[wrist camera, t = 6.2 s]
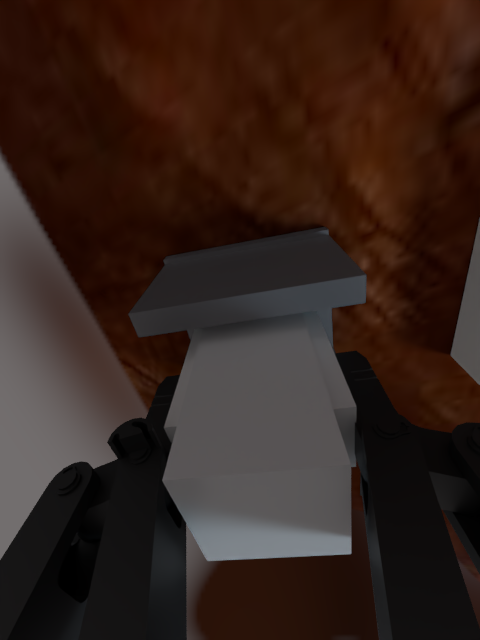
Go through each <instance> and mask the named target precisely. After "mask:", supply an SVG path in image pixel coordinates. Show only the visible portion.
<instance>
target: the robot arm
mask: <svg viewBox="0 0 480 640" xmlns="http://www.w3.org/2000/svg"><path fill="white" fill-rule="evenodd" d="M302 314H303V317H304V320H305V323H306V327H307V330H308V333H309V336H310V339H311V342H312V345H313V348H314V351H315V354H316V358H317V361H318V364H319V367H320V370H321V373H322V376H323V379H324V382H325V386H326V389H327V392H328V395H329V398H330V401H331V404H332V407H333V410H334V413H335V417H336V420H337V423H338V426H339V429H340V432H341V435H342V438H343V441H344V444H345V448H346V451H347V454H348V457H349V460H350V463H351V467H356V459H357V462H358V465H359V468H360V471H361V482H360V495H362V498H363V506H364V515H365V523H366V531H367V540H368V549H369V557H370V565H371V574H372V582H373V591H374V600H375V608H376V616H377V624H378V633H379V640H480V628H479V625H478V622H477V619H476V616H475V613H474V610H473V607H472V604H471V601H470V597H469V594H468V591H467V588H466V585H465V582H464V579H463V576H462V573H461V570H460V567H459V564H458V561H457V557H456V554H455V551H454V548H453V545H452V542H451V539H450V536H449V533H448V530H447V527H446V524H445V520H444V517H443V514H442V511H441V509H443V511H444V513H445V515H446V516H447V518H448V520H449V521H450V523H451V525H452V527H453V528H454V530H455V532H456V534H457V535H458V537H459V539H460V541H461V542H462V544H463V546H464V548H465V549H466V551H467V553H468V555H469V556H470V558H471V560H472V561H473V563H474V565H475V567H476V568H477V570H478V572H479V574H480V423H464V424H461V425H458V426H457V427H456V428H455V429H454V430H453V431H452V433H448V432H441V431H435V430H429V429H425V428H421V427H418V426H415V425H413V424H411V423H410V422H409V421H408V420H407V419H406V418H405V417H403V416H402V415H399V414H398V413H397V411H396V410H395V409H394V407H393V405H392V403H391V401H390V400H389V398H388V396H387V394H386V393H385V391H384V389H383V387H382V385H381V384H380V382H379V380H378V379H377V377H376V375H375V373H374V371H373V370H372V368H371V366H370V364H369V362H368V360H367V359H366V358H365V357H364V356H362V355H361V354H360V353H358V352H357V351H351V352H344V353H336V354H334V351H333V349H332V346H331V344H330V342H329V339H328V337H327V334H326V332H325V330H324V327H323V325H322V322H321V320H320V318H319V315H318V313H317V310H315V311H309V312H302ZM202 330H203V328H198V329H194V333H193V336H192V339H191V342H190V345H189V349H188V352H187V355H186V358H185V361H184V365H183V368H182V371H181V374H180V375H177V376H169V377H166V378H165V379H164V381H163V382H162V383H161V384H160V385H159V386H158V389H157V392H156V394H155V398H154V399H153V402H152V404H151V405H152V406H151V407H150V409H149V412H148V415H147V417H146V419H143V418H137V419H132V420H129V421H127V422H125V423H123V424H122V425H120V426H119V427H118V428H117V429H116V430H115V431H114V432H113V433H112V434H111V436H110V438H109V440H108V442H107V443H108V444H109V446H110V447H111V449H112V450H113V452H114V453H115V455H116V456H117V458H118V459H117V460H115V461H112V462H110V463H107V464H105V465H102V466H100V467H97V468H95V469H93V468H92V467H91V466H90V465H89V463H87V462H77V463H74V464H71V465H69V466H68V467H66V468H64V469H63V470H62V471H61V472H59V473H58V474H57V475H56V476H55V477H54V478H53V480H52V481H51V482H50V483H49V485H48V487H47V488H46V489H45V491H44V493H43V494H42V496H41V497H40V499H39V501H38V502H37V504H36V505H35V507H34V508H33V510H32V512H31V513H30V515H29V516H28V518H27V519H26V521H25V522H24V524H23V526H22V527H21V529H20V530H19V532H18V534H17V535H16V537H15V538H14V540H13V541H12V543H11V544H10V546H9V548H8V549H7V551H6V552H5V554H4V555H3V557H2V558H1V560H0V640H187V637H186V522H185V520H184V518H183V517H182V515H181V513H180V511H179V510H178V508H177V506H176V504H175V503H174V501H173V499H172V497H171V496H170V494H169V492H168V490H167V488H166V487H165V485H164V483H163V481H162V479H163V476H164V472H165V468H166V465H167V461H168V457H169V453H170V450H171V446H172V442H173V438H174V435H175V431H176V427H177V423H178V420H179V416H180V412H181V408H182V405H183V401H184V397H185V393H186V390H187V386H188V382H189V379H190V375H191V371H192V367H193V364H194V360H195V356H196V352H197V349H198V345H199V341H200V337H201V334H202Z"/></svg>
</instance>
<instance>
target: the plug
mask: <svg viewBox="0 0 480 640" xmlns="http://www.w3.org/2000/svg"><path fill="white" fill-rule="evenodd" d="M162 481H163V483H164V485H165V487H166V488H167V490H168V492H169V494H170V496H171V497H172V499H173V501H174V503H175V504H176V506H177V508H178V510H179V511H180V513H181V515H182V517H183V518H184V520H185V522H186V524H187V526H188V527H189V529H190V531H191V533H192V534H193V536H194V538H195V540H196V541H197V543H198V545H199V547H200V548H201V550H202V552H203V554H204V556H205V557H206V559H207V561H215V560H216V561H217V560H236V559H257V558H277V557H278V558H279V557H299V556H318V555H319V556H320V555H340V554H351V463H350V460H349V457H348V454H347V451H346V448H345V444H344V441H343V438H342V435H341V432H340V429H339V426H338V423H337V420H336V417H335V413H334V410H333V407H332V404H331V401H330V398H329V395H328V392H327V389H326V386H325V382H324V379H323V376H322V373H321V370H320V367H319V364H318V361H317V358H316V354H315V351H314V348H313V345H312V342H311V339H310V336H309V333H308V330H307V327H306V323H305V320H304V317H303V314H302V313H296V314H289V315H283V316H276V317H270V318H263V319H257V320H250V321H244V322H237V323H230V324H224V325H217V326H211V327H204V328H203V330H202V334H201V337H200V341H199V345H198V349H197V352H196V356H195V360H194V364H193V367H192V371H191V375H190V379H189V382H188V386H187V390H186V393H185V397H184V401H183V405H182V408H181V412H180V416H179V420H178V423H177V427H176V431H175V435H174V438H173V442H172V446H171V450H170V453H169V457H168V461H167V465H166V468H165V472H164V476H163V479H162Z"/></svg>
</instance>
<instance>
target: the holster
mask: <svg viewBox="0 0 480 640" xmlns="http://www.w3.org/2000/svg"><path fill="white" fill-rule="evenodd" d="M163 261H164V264H165V266H164V267H163V268H162V270H161V271H160V272H159V274H158V275H157V276H156V278H155V279H154V280H153V282H152V283H151V284H150V286H149V287H148V288H147V290H146V291H145V292H144V294H143V295H142V296H141V298H140V299H139V300H138V302H137V303H136V304H135V306H134V307H133V308H132V310H131V311H130V312H129V314H128V315H129V317H130V319H131V321H132V324H133V326H134V328H135V330H136V333H137V335H138V337H146V336H152V335H159V334H165V333H172V332H178V331H185V330H187V332H188V335H189V338H190V341H191V339H192V336H193V333H194V329H198V328H204V327H211V326H217V325H224V324H230V323H237V322H244V321H250V320H257V319H263V318H270V317H276V316H283V315H289V314H296V313H302V312H309V311H315V310H317V313H318V315H319V318H320V320H321V322H322V325H323V327H324V330H325V332H326V334H327V337H328V339H329V342H330V344H331V346H332V349H333V351H334V348H333V334H332V309H331V308H335V307H342V306H348V305H355V304H361V303H366V274H365V273H364V272H363V271H362V270H361V269H360V268H359V267H358V265H357V264H356V263H355V262H354V261H353V260H352V259H351V258H350V257H349V256H348V255H347V254H346V253H345V252H344V251H343V250H342V249H341V248H340V247H339V245H338V244H337V243H336V242H335V241H334V240H333V239H332V238H331V237H330V236H329V234H328V229H327V228H326V227H321V228H316V229H310V230H305V231H300V232H294V233H289V234H284V235H278V236H273V237H268V238H262V239H257V240H252V241H246V242H241V243H236V244H230V245H225V246H220V247H214V248H209V249H204V250H198V251H193V252H187V253H182V254H177V255H171V256H166V258H165V259H164V260H163ZM334 354H336V353H335V351H334Z"/></svg>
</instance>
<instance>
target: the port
mask: <svg viewBox="0 0 480 640" xmlns="http://www.w3.org/2000/svg"><path fill="white" fill-rule="evenodd" d="M450 356H451V357H452V358H453V359H454V360H455V361H456V362H457V363H458V364H459V365H460V366H461V367H462V368H463V369H464V370H465V371H466V372H467V373H468V374H469V375H470V376H471V377H472V378H473V379H474V380H475V381H476V382H477V383H478V384H479V385H480V219H479V224H478V228H477V233H476V238H475V242H474V247H473V252H472V256H471V261H470V266H469V270H468V275H467V280H466V284H465V289H464V294H463V299H462V303H461V308H460V313H459V317H458V322H457V327H456V331H455V336H454V341H453V345H452V350H451V355H450Z"/></svg>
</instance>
